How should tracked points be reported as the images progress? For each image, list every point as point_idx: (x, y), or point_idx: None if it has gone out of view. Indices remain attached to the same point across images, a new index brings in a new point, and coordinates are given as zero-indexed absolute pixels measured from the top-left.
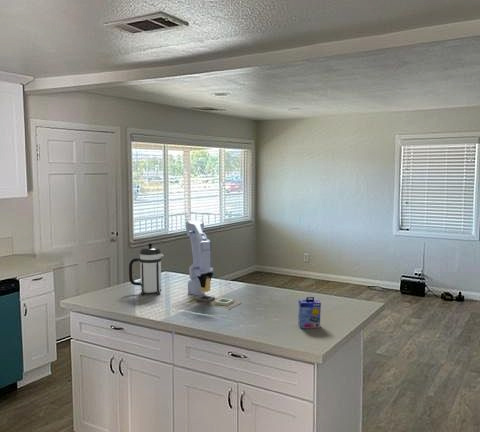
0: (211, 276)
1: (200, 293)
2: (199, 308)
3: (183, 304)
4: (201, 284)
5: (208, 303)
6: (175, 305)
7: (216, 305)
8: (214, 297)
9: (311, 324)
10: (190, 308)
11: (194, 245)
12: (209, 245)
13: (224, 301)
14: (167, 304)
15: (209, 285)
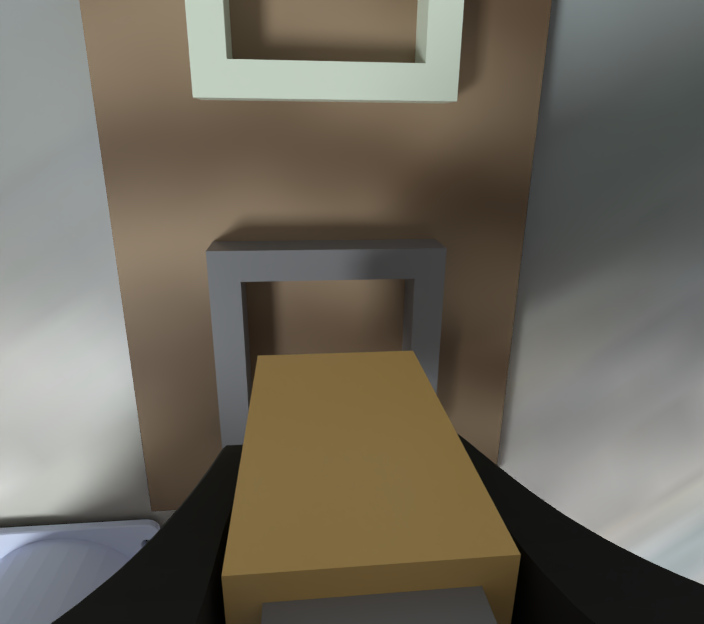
0: (116, 621)
1: (106, 569)
2: (628, 232)
3: (537, 492)
4: None
5: (455, 208)
6: (604, 534)
7: (505, 19)
8: (219, 250)
9: None
10: (662, 332)
11: None
12: None
13: (229, 11)
14: None
15: (292, 413)
